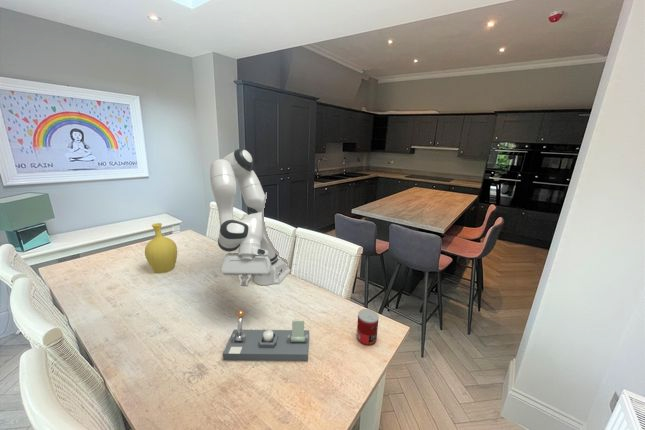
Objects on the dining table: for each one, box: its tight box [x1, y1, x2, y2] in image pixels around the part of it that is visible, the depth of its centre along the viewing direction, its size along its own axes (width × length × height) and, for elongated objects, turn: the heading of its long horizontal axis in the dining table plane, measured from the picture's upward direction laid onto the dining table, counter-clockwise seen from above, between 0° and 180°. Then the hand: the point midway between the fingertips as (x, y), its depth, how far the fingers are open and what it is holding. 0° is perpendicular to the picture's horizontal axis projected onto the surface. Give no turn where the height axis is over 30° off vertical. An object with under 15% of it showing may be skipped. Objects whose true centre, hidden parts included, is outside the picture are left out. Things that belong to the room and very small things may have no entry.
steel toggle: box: [235, 310, 245, 341], centre depth 98 cm, size 3×3×11 cm
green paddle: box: [291, 320, 305, 342], centre depth 97 cm, size 2×5×8 cm, turn 89°
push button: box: [263, 329, 273, 342], centre depth 97 cm, size 4×4×2 cm
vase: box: [144, 222, 178, 274], centre depth 151 cm, size 16×16×28 cm
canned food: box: [356, 308, 379, 346], centre depth 102 cm, size 8×8×11 cm
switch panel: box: [222, 328, 310, 362], centre depth 98 cm, size 12×30×5 cm, turn 90°
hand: (243, 286), depth 104 cm, fingers closed
